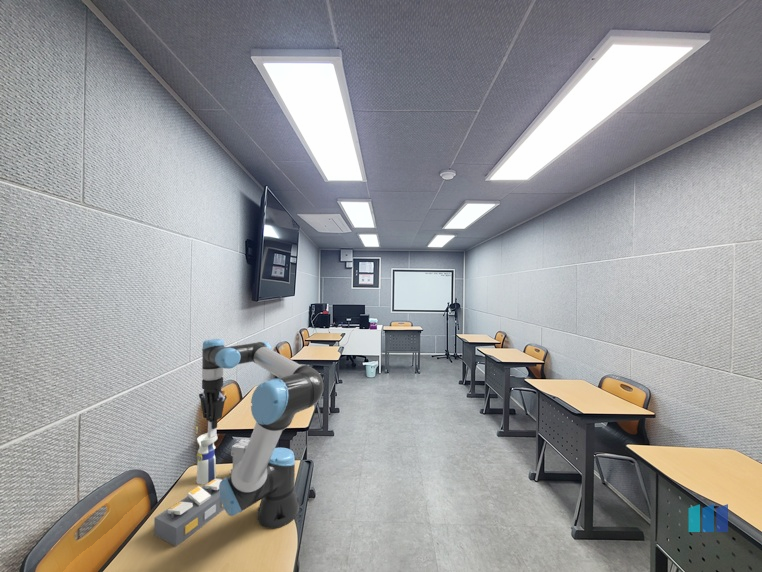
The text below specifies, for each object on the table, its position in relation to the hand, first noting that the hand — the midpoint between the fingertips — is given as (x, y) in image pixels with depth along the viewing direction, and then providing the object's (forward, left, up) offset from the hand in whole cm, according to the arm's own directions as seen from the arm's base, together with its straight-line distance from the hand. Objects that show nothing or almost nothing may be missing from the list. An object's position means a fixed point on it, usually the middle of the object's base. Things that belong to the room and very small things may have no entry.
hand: (212, 436), depth 118 cm
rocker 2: (-2, +7, -19) cm, 20 cm away
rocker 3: (-2, 0, -19) cm, 19 cm away
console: (-2, +7, -27) cm, 28 cm away
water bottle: (+16, -9, -27) cm, 33 cm away
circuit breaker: (-1, -18, -27) cm, 33 cm away
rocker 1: (-2, +14, -19) cm, 23 cm away
